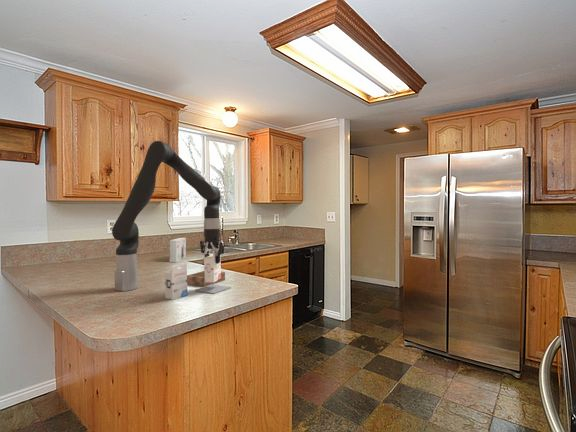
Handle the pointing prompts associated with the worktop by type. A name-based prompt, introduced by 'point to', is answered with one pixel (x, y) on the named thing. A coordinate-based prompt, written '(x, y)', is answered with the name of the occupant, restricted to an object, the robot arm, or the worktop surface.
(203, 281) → the crate
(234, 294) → the worktop surface
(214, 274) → the ink cartridge box
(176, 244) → the skincare box
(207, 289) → the mat
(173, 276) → the ink box
